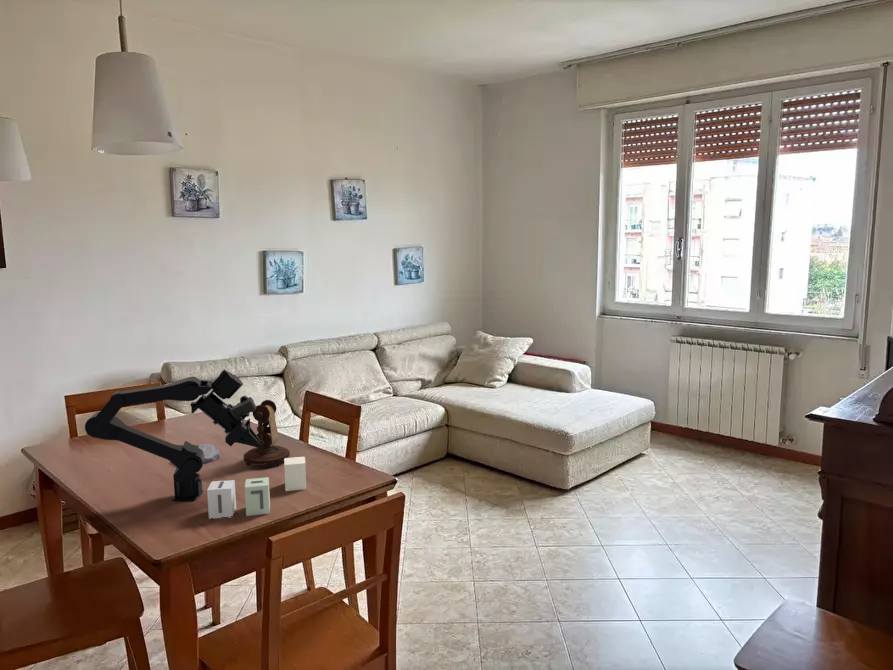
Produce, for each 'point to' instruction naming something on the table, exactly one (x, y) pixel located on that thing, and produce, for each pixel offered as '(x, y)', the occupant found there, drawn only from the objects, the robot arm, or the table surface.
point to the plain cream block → (295, 473)
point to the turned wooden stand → (266, 437)
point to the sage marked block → (257, 496)
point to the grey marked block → (221, 499)
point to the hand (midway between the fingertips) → (260, 444)
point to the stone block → (209, 452)
